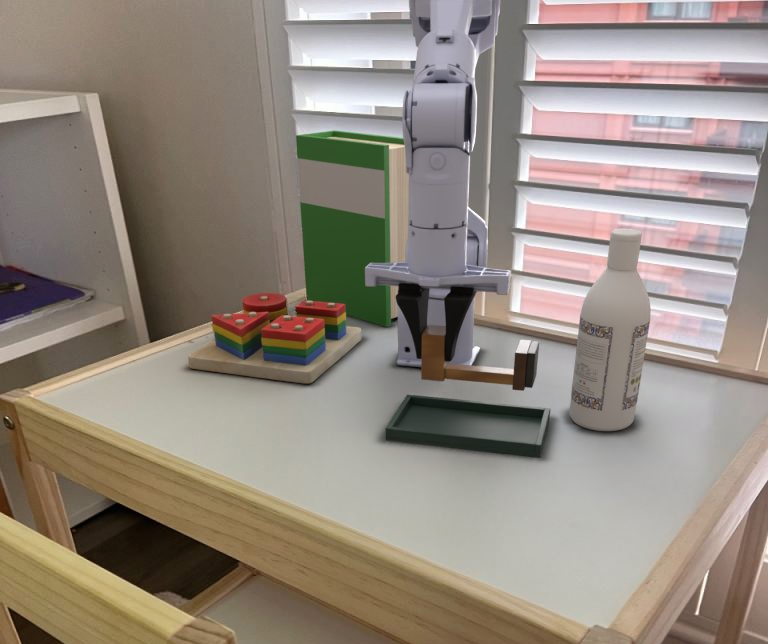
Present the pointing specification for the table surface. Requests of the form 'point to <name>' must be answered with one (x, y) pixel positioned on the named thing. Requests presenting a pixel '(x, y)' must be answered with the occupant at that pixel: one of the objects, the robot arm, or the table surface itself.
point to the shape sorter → (277, 340)
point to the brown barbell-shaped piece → (441, 369)
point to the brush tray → (470, 425)
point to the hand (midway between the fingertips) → (435, 356)
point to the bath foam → (612, 340)
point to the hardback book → (352, 218)
